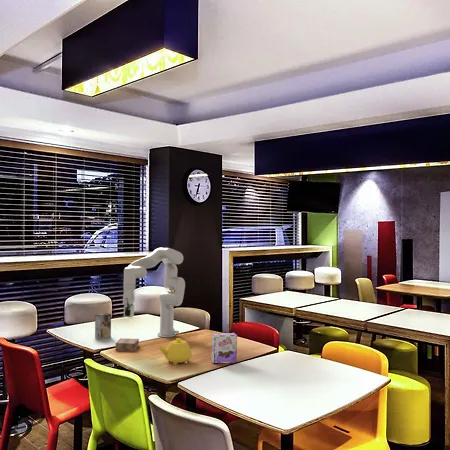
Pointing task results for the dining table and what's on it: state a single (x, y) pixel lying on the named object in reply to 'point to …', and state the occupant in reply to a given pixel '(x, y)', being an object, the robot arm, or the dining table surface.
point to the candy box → (224, 347)
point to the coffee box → (102, 325)
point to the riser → (127, 344)
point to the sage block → (130, 311)
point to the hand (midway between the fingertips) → (128, 314)
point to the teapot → (177, 351)
